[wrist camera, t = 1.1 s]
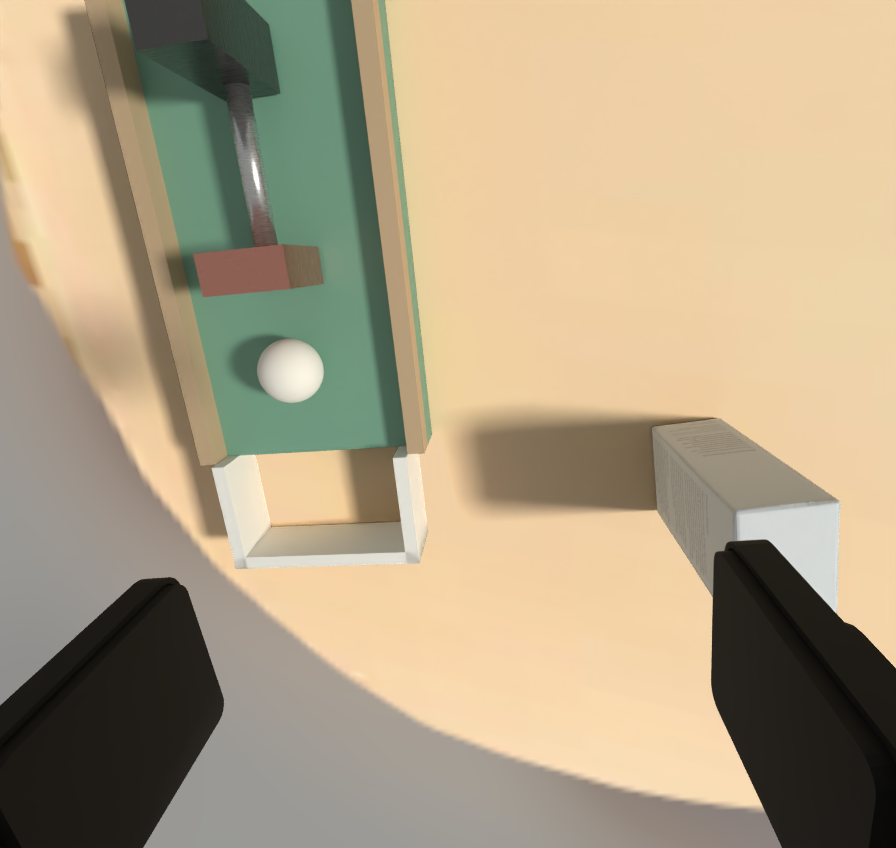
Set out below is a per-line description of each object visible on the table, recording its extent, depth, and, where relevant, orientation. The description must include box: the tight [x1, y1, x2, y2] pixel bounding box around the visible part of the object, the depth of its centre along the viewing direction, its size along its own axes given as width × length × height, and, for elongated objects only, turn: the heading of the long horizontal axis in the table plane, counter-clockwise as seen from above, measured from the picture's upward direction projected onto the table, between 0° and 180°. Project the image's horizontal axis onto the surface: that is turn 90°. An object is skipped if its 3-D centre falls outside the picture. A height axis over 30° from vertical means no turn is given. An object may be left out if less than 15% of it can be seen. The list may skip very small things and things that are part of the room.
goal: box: [212, 446, 428, 569], centre depth 34 cm, size 7×12×4 cm, turn 96°
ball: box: [257, 339, 324, 403], centre depth 30 cm, size 4×4×4 cm
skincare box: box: [652, 419, 840, 614], centre depth 27 cm, size 6×4×12 cm
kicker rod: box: [124, 0, 324, 297], centre depth 25 cm, size 12×4×7 cm, turn 5°
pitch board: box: [84, 0, 432, 466], centre depth 29 cm, size 25×14×4 cm, turn 5°
